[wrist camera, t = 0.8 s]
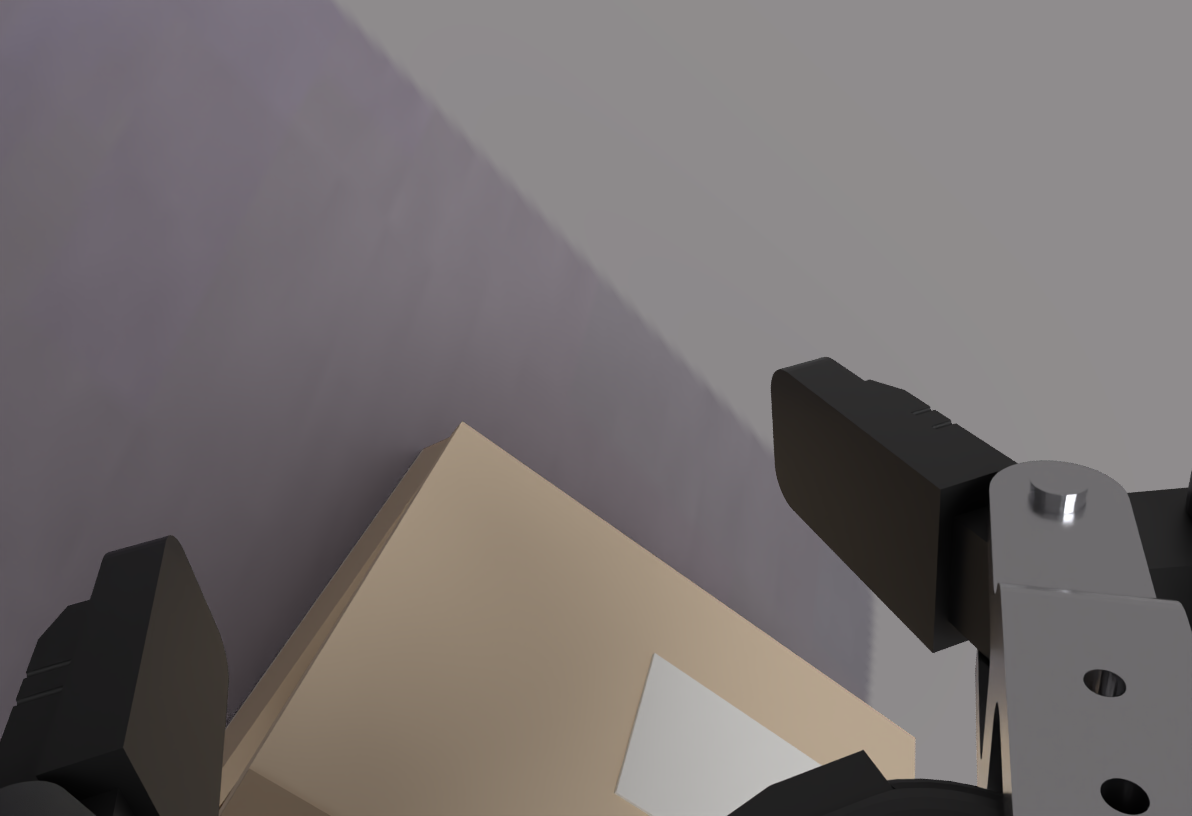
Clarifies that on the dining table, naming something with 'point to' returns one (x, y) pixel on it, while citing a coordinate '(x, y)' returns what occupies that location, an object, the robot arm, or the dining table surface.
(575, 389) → the dining table surface
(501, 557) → the lid
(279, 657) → the mailer box
